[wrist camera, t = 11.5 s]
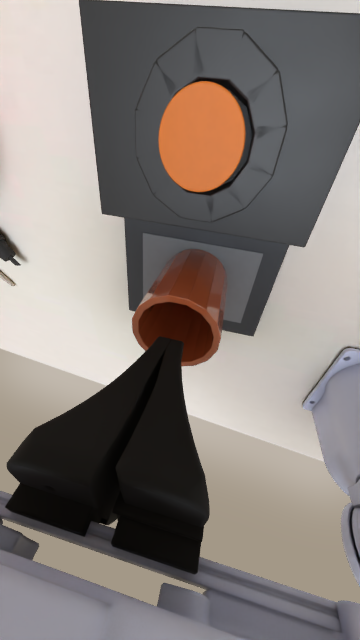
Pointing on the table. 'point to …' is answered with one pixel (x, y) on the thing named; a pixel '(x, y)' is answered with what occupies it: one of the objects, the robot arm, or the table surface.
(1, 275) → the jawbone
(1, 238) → the marker
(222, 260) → the tray
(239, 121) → the button
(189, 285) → the clay cup
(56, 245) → the table surface
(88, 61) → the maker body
